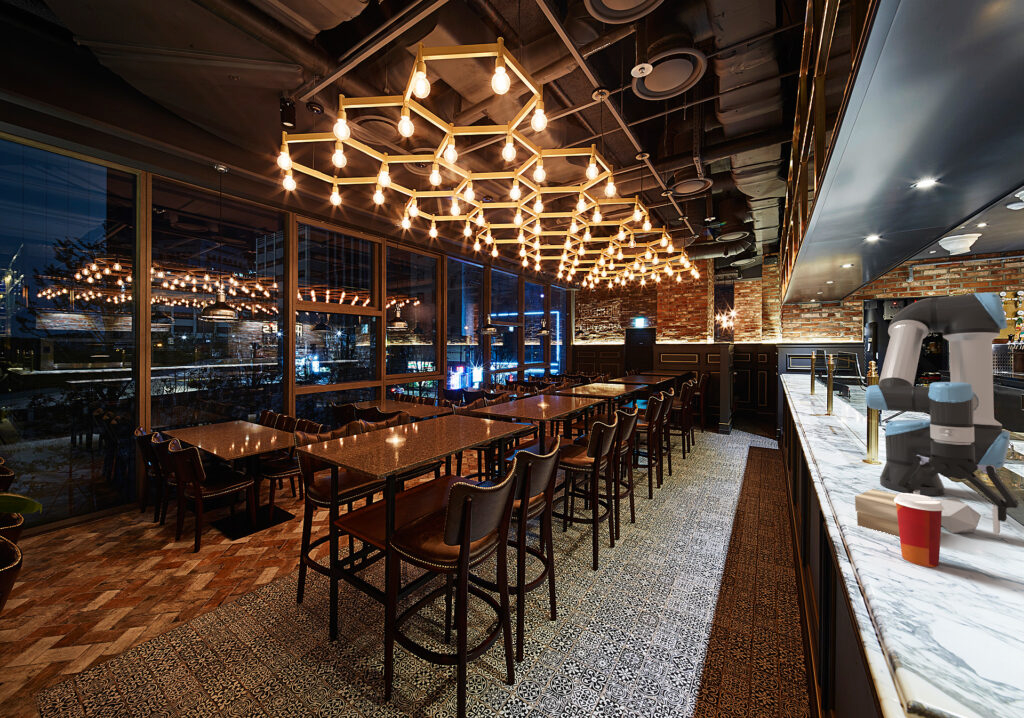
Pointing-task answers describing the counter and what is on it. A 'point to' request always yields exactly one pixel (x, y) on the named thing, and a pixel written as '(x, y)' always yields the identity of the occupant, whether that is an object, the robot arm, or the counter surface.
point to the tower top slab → (877, 504)
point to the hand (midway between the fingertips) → (954, 523)
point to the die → (958, 516)
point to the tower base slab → (878, 523)
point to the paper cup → (919, 528)
